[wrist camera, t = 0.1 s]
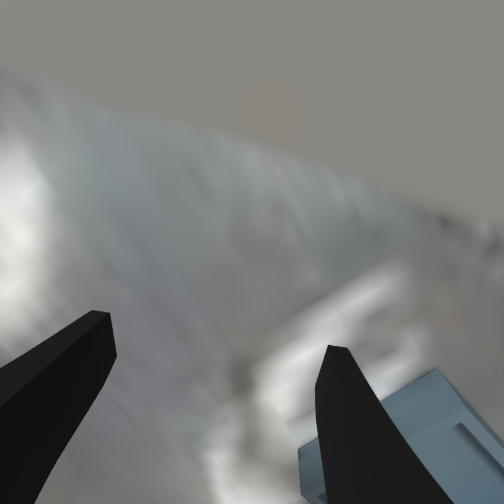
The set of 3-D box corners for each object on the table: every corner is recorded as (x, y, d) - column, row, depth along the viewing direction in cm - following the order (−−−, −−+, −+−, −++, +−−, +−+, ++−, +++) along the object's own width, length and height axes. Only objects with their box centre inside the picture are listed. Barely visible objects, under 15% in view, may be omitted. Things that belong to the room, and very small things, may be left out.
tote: (390, 531, 28) (405, 583, 24) (297, 449, 25) (301, 494, 22) (529, 471, 24) (569, 522, 21) (437, 368, 22) (466, 408, 18)
